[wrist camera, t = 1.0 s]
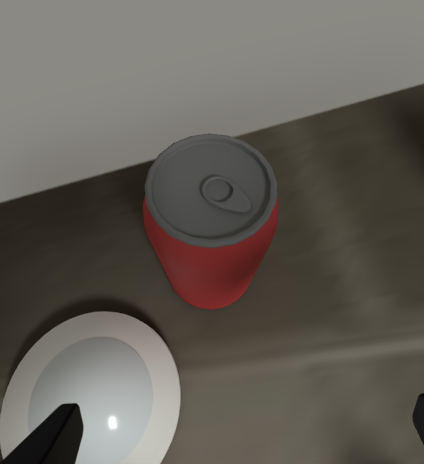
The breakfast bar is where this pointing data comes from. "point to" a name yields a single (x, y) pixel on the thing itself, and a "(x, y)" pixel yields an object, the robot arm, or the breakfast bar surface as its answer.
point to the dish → (99, 389)
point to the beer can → (210, 216)
